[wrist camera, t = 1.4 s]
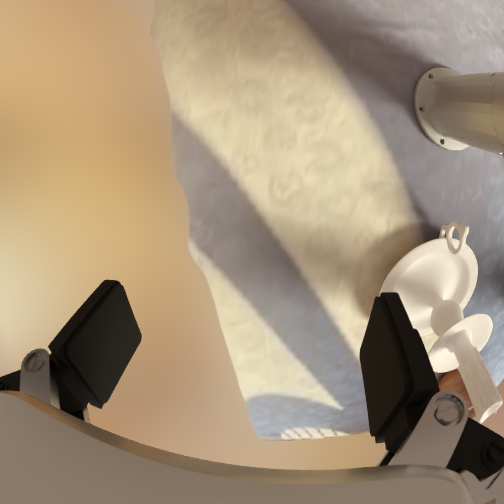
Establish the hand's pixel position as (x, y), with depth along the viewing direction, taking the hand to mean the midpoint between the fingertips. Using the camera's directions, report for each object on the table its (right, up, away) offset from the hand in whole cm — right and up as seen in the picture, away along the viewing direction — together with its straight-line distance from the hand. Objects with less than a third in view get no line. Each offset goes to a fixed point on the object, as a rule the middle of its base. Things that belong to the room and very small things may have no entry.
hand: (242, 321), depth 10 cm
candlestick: (+31, -1, +31) cm, 43 cm away
